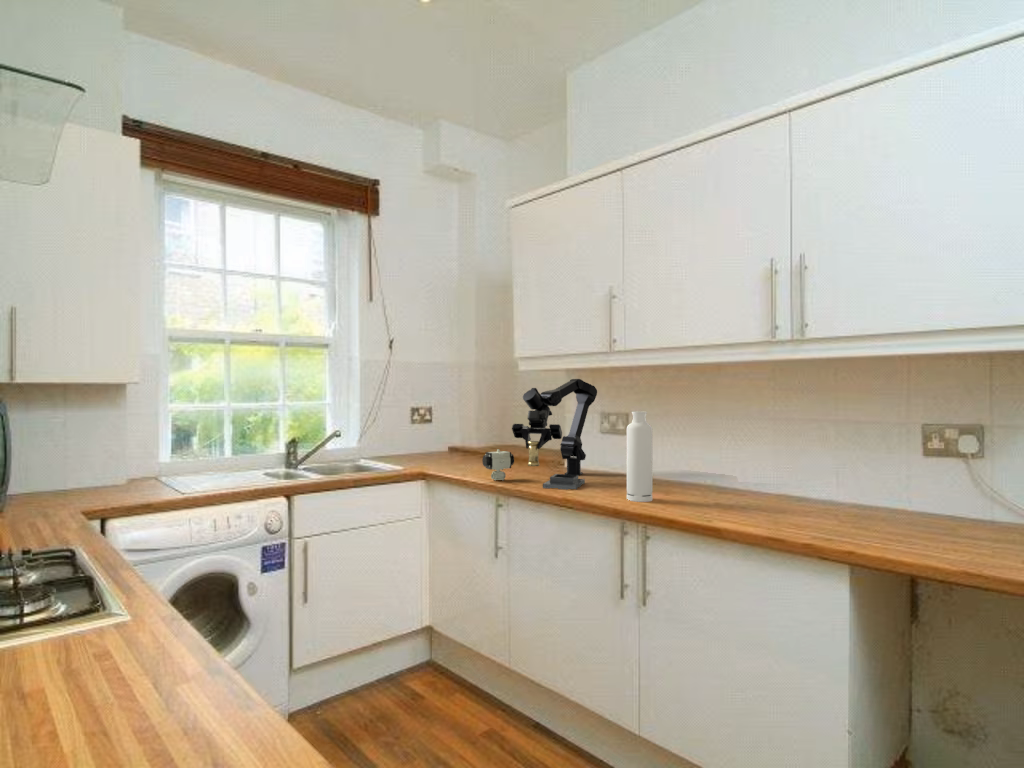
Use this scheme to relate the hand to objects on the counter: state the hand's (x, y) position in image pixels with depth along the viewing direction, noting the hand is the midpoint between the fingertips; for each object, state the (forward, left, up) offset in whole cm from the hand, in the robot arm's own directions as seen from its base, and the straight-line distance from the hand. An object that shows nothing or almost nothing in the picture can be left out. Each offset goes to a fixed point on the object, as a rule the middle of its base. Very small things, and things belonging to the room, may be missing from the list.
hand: (532, 448), depth 212 cm
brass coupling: (-1, 0, -7) cm, 7 cm away
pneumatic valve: (-5, -15, -14) cm, 21 cm away
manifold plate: (-1, +12, -13) cm, 18 cm away
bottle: (+18, +41, -14) cm, 46 cm away
